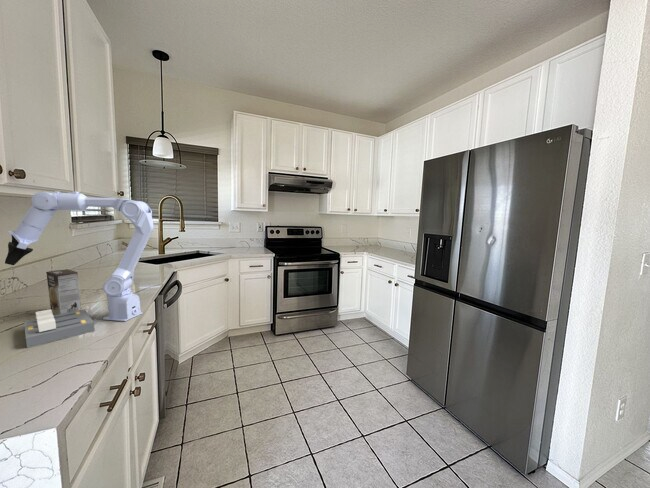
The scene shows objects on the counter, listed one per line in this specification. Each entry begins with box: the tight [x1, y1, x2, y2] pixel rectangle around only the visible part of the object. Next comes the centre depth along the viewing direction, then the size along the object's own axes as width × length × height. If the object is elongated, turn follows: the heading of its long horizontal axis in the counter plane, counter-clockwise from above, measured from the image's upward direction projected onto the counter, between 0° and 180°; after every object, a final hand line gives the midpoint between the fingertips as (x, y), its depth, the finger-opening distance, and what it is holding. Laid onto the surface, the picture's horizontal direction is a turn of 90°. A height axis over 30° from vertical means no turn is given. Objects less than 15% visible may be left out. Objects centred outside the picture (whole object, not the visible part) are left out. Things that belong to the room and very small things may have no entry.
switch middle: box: [37, 313, 54, 324], centre depth 85 cm, size 4×3×2 cm
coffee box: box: [46, 268, 82, 315], centre depth 102 cm, size 9×6×16 cm
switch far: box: [35, 308, 52, 320], centre depth 89 cm, size 4×3×2 cm
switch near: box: [38, 318, 56, 332], centre depth 82 cm, size 4×3×2 cm
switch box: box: [23, 309, 96, 349], centre depth 88 cm, size 15×17×3 cm
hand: (10, 259), depth 89 cm, fingers open, 7 cm apart
